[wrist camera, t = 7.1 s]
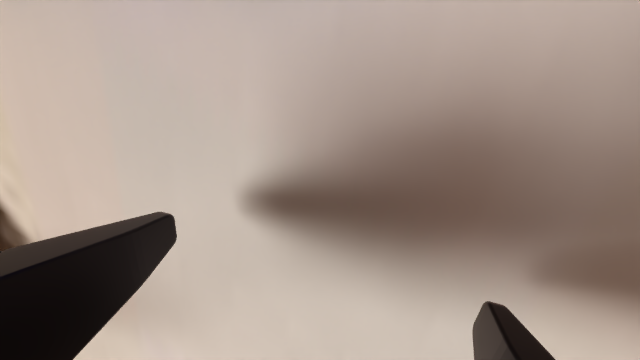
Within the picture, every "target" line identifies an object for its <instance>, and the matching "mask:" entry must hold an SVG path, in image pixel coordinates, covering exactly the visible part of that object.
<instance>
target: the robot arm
mask: <svg viewBox="0 0 640 360" xmlns="http://www.w3.org/2000/svg"><path fill="white" fill-rule="evenodd" d="M176 238H177V234H176V226H175V219H174V217H173V215H171V214H168V213H164V212H156V213H152V214H148V215H144V216H140V217H136V218H132V219H127V220H123V221H119V222H115V223H111V224H107V225H103V226H99V227H95V228H91V229H87V230H83V231H79V232H75V233H71V234H67V235H62V236H58V237H54V238H50V239H46V240H42V241H38V242H34V243H30V244H26V245H22V246H18V247H14V248H10V249H6V250H4V251H0V360H73V359H74V358H75V357H76V356H77V355H78V354H79V352H80V351H81V350H82V349H83V348H84V347H85V346H86V345H87V344H88V343H89V342H90V341H91V340H92V338H93V337H94V336H95V335H96V334H97V333H98V332H99V331H100V330H101V329H102V328H103V327H104V326H105V325H106V323H107V322H108V321H109V320H110V319H111V318H112V317H113V316H114V315H115V314H116V313H117V312H118V311H119V310H120V308H121V307H122V306H123V305H124V304H125V303H126V302H127V301H128V300H129V299H130V298H131V297H132V296H133V294H134V293H135V292H136V291H137V290H138V289H139V288H140V287H141V286H142V285H143V283H144V282H145V281H146V280H147V278H148V277H149V276H150V275H151V273H152V272H153V271H154V269H155V268H156V267H157V266H158V264H159V263H160V262H161V260H162V259H163V258H164V257H165V255H166V254H167V253H168V251H169V250H170V249H171V248H172V246H173V245H174V244H175V242H176ZM473 347H474V360H555V359H554V357H553V356H552V355H551V354H550V353H549V352H548V351H547V350H546V349H545V348H544V347H543V346H542V345H541V344H540V343H539V342H538V340H537V339H536V338H535V337H534V336H533V335H532V334H531V333H530V332H529V331H528V330H527V329H526V328H525V327H524V326H523V324H522V323H521V322H520V321H519V320H518V319H517V318H516V317H515V316H514V315H513V314H512V313H511V312H510V311H509V310H508V309H507V308H506V307H505V306H503V305H501V304H497V303H493V302H490V301H487V302H485V303H484V304H483V306H482V308H481V310H480V312H479V314H478V316H477V318H476V320H475V322H474V325H473Z"/></svg>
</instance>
